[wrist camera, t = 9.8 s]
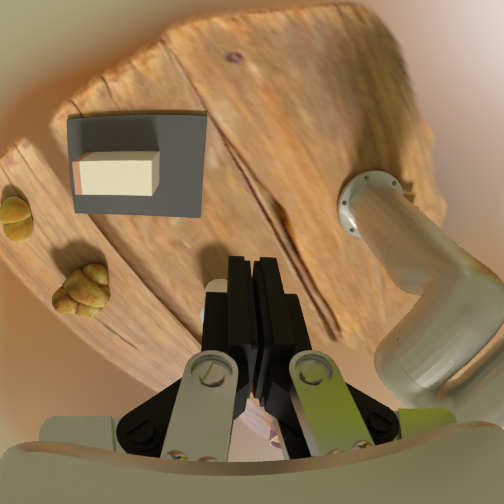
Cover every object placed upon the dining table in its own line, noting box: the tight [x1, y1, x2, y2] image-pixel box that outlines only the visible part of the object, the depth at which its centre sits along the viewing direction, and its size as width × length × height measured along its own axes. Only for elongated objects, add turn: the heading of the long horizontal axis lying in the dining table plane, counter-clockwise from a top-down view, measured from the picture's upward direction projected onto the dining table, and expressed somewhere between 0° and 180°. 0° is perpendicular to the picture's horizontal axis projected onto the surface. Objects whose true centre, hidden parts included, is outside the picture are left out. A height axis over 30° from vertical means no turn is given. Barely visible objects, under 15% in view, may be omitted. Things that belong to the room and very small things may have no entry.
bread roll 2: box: [52, 263, 110, 318], centre depth 49 cm, size 13×10×8 cm
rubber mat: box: [67, 114, 207, 218], centre depth 41 cm, size 22×16×1 cm
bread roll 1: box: [0, 196, 33, 241], centre depth 41 cm, size 8×9×4 cm
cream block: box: [72, 151, 160, 196], centre depth 38 cm, size 5×5×12 cm
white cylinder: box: [200, 279, 227, 322], centre depth 52 cm, size 7×7×7 cm
